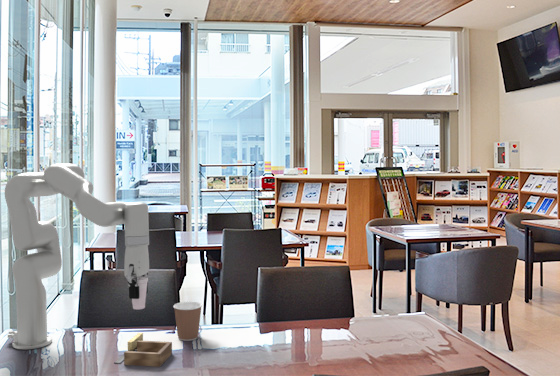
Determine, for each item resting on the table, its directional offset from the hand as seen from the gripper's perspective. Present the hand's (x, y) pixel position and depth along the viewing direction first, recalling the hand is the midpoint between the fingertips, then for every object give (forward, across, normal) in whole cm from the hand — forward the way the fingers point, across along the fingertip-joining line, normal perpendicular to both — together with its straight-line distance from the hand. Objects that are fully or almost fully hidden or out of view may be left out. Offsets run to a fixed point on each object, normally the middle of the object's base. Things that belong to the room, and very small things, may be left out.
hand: (138, 295), depth 175 cm
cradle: (+21, -4, +1) cm, 21 cm away
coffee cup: (+21, -22, +9) cm, 31 cm away
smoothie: (+4, 0, 0) cm, 4 cm away
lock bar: (+20, -9, -5) cm, 23 cm away
